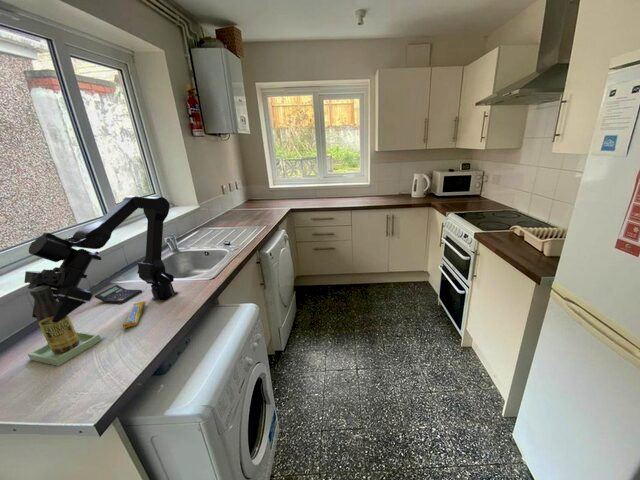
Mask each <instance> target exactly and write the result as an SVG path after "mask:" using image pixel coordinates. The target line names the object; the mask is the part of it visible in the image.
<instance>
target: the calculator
mask: <svg viewBox="0 0 640 480" xmlns="http://www.w3.org/2000/svg"><path fill="white" fill-rule="evenodd" d="M141 293H143V291H142V289H127V288H124V287H122V286H120V285H118V284H115V285H113V286H110V287H109V288H107V289H105V290H103V291H101V292H99V293H98V294H95V295H94V298H96V299H97V300H100V301H102V302H104V303H106V304H124V303H126V302H127V301H129V300H131V299H132V298H134V297H136V296H137V295H139V294H141Z"/></svg>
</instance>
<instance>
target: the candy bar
mask: <svg viewBox="0 0 640 480" xmlns="http://www.w3.org/2000/svg"><path fill="white" fill-rule="evenodd" d="M145 304H147V301H146V300H143V301H139V302H135V303H133V305H132V308H131V310H130V312H129V314H128V317H126V318H127V319H126V320H125V322H124V323H122V328H125V329H128V328H131V327H134V326H135V327H136V326H137V324H138V322H139V319H140V318H141V316H142V313H143V311H144V308H145Z"/></svg>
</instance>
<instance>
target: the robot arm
mask: <svg viewBox="0 0 640 480" xmlns="http://www.w3.org/2000/svg"><path fill="white" fill-rule="evenodd" d="M138 209H141V210H142V209H143V214H144V216H145V218H146V220H147V224H146V225H147V227H146V243H145V258H144V260H143V261H142V262H138V263H137V267H138V269H137V272H136V274H138V277H139V279H140V280H141V281H144V282H145V283H146V284H148V285H150V288H151V290H150V291H151V294H152V296H153V297H152V300H155V301H163V302H164V301H165V302H166V301H167V300H169V299H171V298H172V297H174V296H176V295H177V294H179V293H178V291H175V290H174V287H173V282H174V280H175V277H174V275H173V274H170V273H168V272H166V271H167V270H166V265H165V264H164V262H163V260H162V250H163V233H164V222H165V220H166V219H167V217H168V216H169V212H170V209H171V205H170V202H169V201H168V199H167V198H165V197H163V196H148V197H143V196H137V195H128V196H124V197H123V198H122V200H121V201H120V202H119V203H118V204H116V206H114V207H113V208H112V209H110V210H109V211H108V212H107V213H106V214H104V215H103V216H102V217H101V218H100V219H99V220H97V221H96V222H93V223H91V224H89V225H86V226H84V227H82V228H80V229H78V230H77V231H76V232H75V233H73V235H72V236H69V237H67V238H61V237H59V236H56V235H55V234H53V233H50V232H43V233H42V235H40V236H38V237H37V238H36V239H35V240H34V241H32V242H31V244H30V245H29V247H28V254H30V255H32V256H35V257H39V258H42V259H45V260H47V261H51V262H54V263H58V262H61V261H62V263H61V264H60V265H59V267H57V266H55V267H53V269H43V270H42V271H41V270H39V271H38V270H26V271H25V274H24V282H23V283H24V284H29V285H28V287H27V289H29V292H30V290H31V289H33V288H36V287H39V286H44V285H49V286H50V287H51V289H52V294H53V296H54V298H55V300H56V301H58V302H59V305H58V307H57V309H56V312H55V314H54V317H53V320H52V322H55V323H57V322H59V321H60V320H61V319H63V318H64V317H65V316H67V315H69V314H71V313H72V312H74V311H75V310H76V309H78V308H80V307H81V306H82V305H84V304H86V303H87V302H91V300H92V299H93V297H94V294H93V292H92V291H91V290H87V289H84V288H81V287H78V286H79V284H80V283H81V281H82V279H85V280H86V279H87V277H88V275H87V274H86V272H87V270H88V268H89V266H90V264H91V262H92V261H93V260H94V261H101V260H103V259H102V257H101V255H100V252H99V251H90V250H99V249H103V248H104V247H105V246H106V244H107V243H108V242H109V240H110V239H111V237H112V233H113V232H114V230H116V229H117V228H118V227H119V226H120V225H122V223H124V222H125V220H126V219H128V218H129V217H130V216H131V215H132V214H133V213H135V212H136V210H138ZM76 248H79V249H76ZM87 249H89V250H87ZM36 305H37V304H36V302H35V299H34V301H33V309H32V313H31V317H32V318H35V319H37V318H36V316H35V314H34V312H35V309H36Z"/></svg>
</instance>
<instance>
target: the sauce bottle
mask: <svg viewBox="0 0 640 480" xmlns="http://www.w3.org/2000/svg"><path fill="white" fill-rule="evenodd" d="M29 290H30V291H29V293H30V295H31V296H32V298H33V299H34V300H35V302H36V304H37V305H36V309H35V312H34V314H35V316H36V318H35V319H36V321H37V323H38V325H39V328H40V330H41V332H42V334H43V336H44V339H45V340H46V344H48V345H49V347H50V348H51V349H52V352H53V353H56V354H57V353H64V352H67V351H70V350H71V349H73V348H75V347H77V346H78V344H79V338H78V336H77V333H76V331H77V330H76V328H75V326H74V325H73V322H72V320H71V318H70V315H69V314H68V315H67V316H65V317H64V318H63V319H61V320H60V321H59V322H57V323H55V322H52V320H53V317H54V314H55V312H56V309H57V307H58V305H59V300H57V299H56V300H55V298H54V296H55V295H54V294H52V289H51V287H50V286H49V285H44V286H39V287H36V288H33V289H29Z"/></svg>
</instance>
